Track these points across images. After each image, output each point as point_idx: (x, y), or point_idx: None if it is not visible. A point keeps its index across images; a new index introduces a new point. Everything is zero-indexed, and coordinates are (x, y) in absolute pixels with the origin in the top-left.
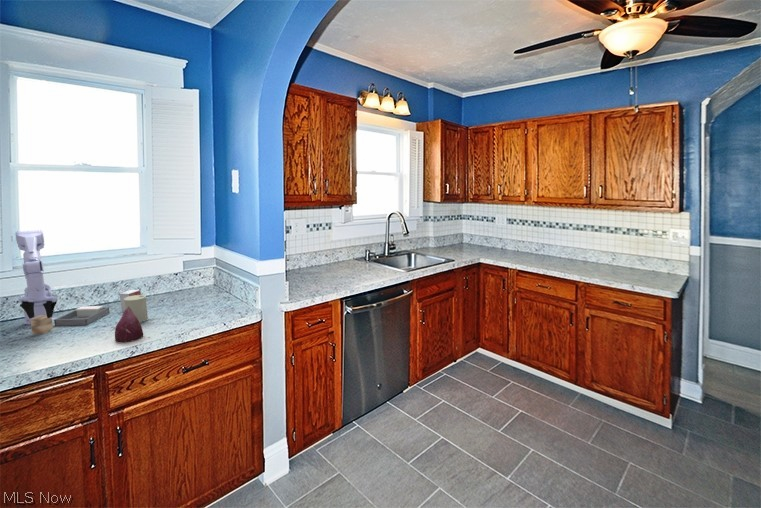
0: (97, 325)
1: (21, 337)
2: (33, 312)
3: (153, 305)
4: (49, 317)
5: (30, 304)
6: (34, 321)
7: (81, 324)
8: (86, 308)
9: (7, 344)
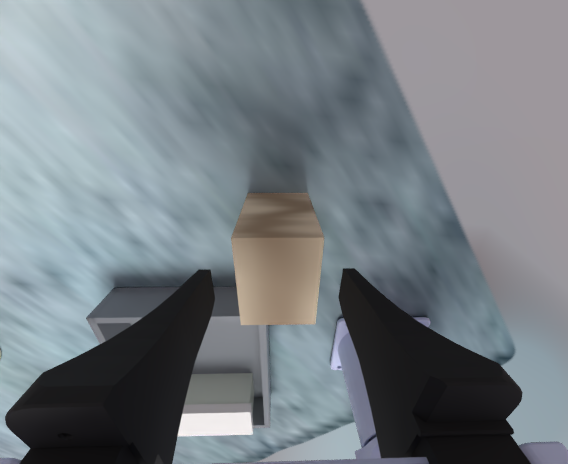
0: (73, 295)
1: (343, 151)
2: (349, 327)
3: None
4: (195, 273)
5: (392, 413)
6: (289, 228)
7: (134, 295)
8: (205, 418)
9: (356, 5)
